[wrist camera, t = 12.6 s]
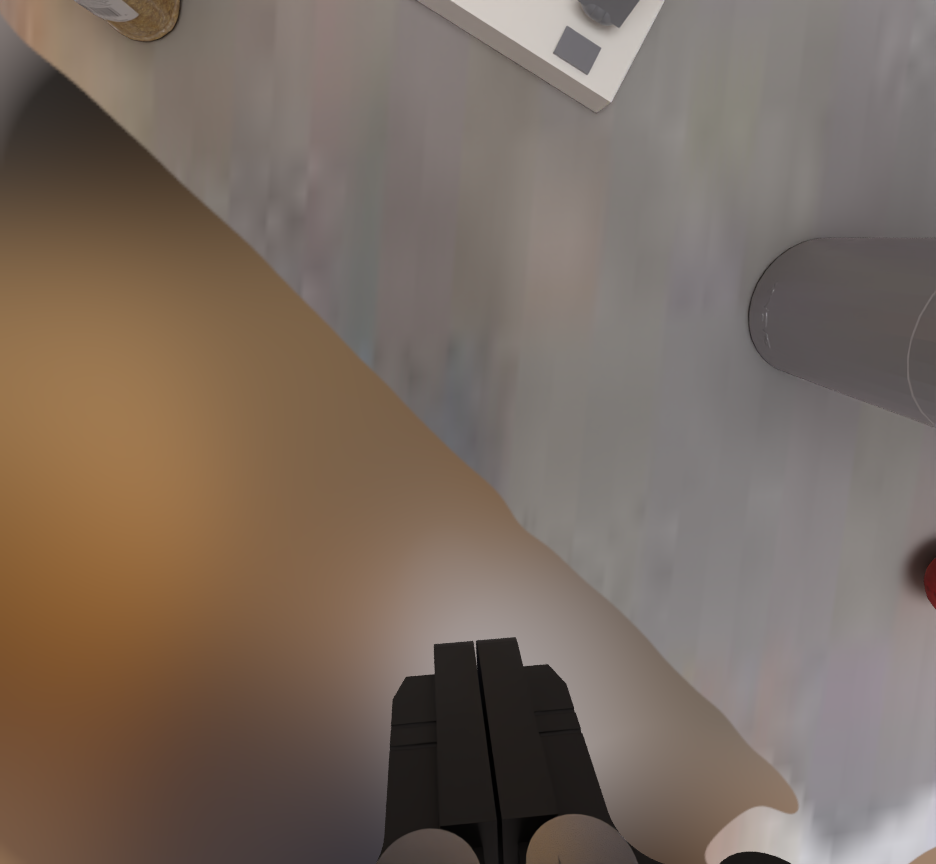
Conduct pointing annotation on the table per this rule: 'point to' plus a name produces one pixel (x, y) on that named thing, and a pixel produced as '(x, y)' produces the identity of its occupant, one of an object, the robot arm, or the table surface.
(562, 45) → the lever base
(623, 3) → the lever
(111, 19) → the sprinkles bottle
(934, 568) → the red oval lump
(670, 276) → the table surface
